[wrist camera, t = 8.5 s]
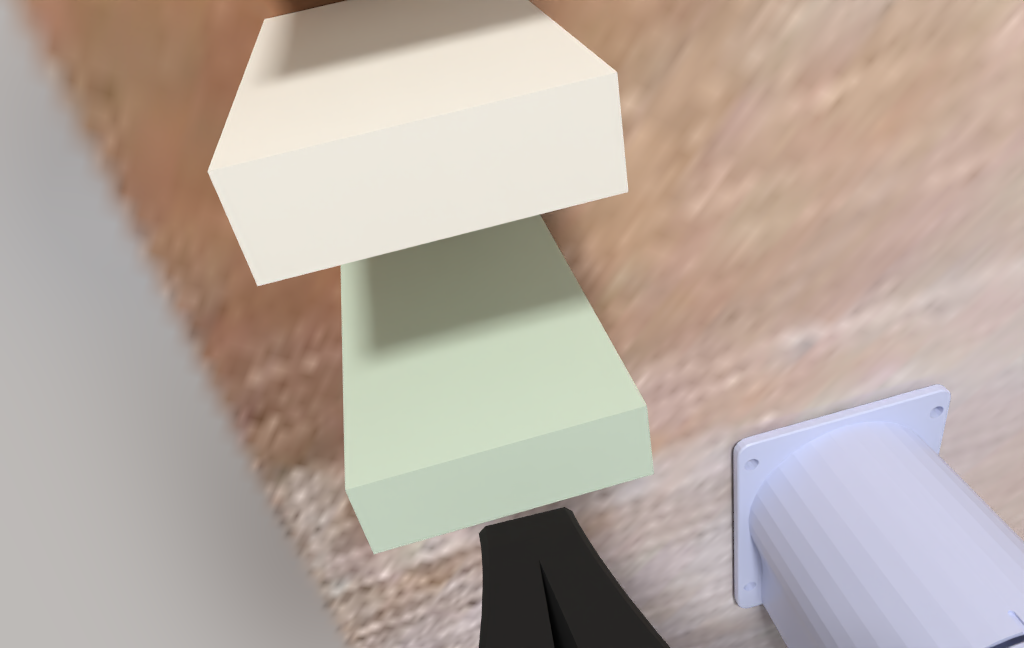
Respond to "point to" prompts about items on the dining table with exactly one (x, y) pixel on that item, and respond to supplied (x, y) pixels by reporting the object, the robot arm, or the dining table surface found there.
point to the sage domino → (478, 386)
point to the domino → (410, 129)
